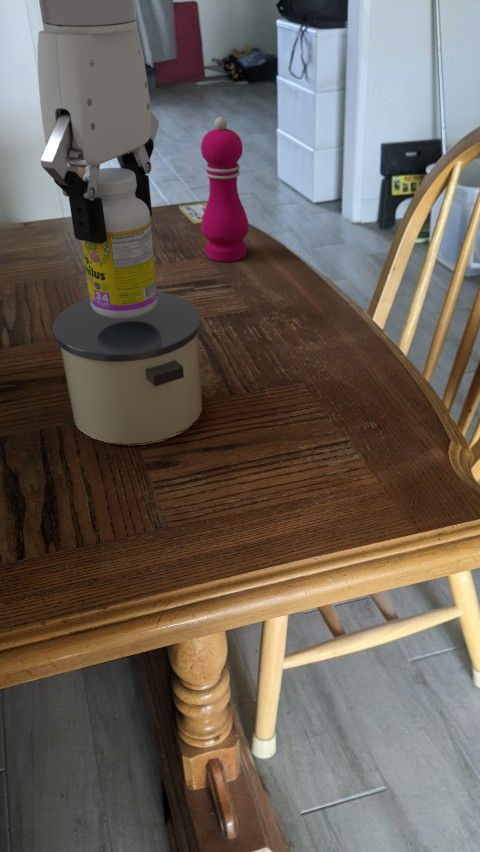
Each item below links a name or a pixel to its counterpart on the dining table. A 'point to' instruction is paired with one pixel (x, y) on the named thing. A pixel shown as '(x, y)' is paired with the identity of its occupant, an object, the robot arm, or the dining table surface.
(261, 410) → the dining table surface
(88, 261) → the supplement bottle
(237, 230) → the pepper mill
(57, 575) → the dining table surface
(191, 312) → the pot
